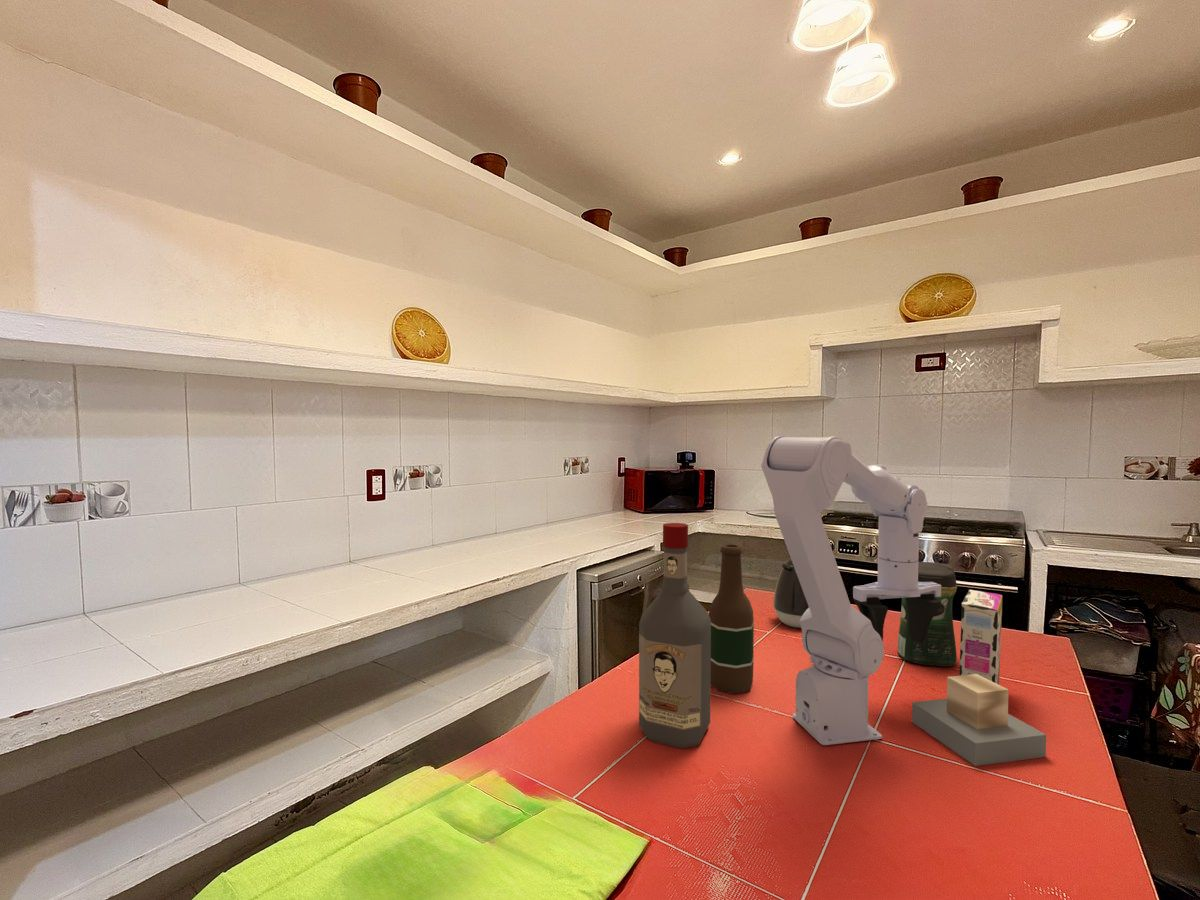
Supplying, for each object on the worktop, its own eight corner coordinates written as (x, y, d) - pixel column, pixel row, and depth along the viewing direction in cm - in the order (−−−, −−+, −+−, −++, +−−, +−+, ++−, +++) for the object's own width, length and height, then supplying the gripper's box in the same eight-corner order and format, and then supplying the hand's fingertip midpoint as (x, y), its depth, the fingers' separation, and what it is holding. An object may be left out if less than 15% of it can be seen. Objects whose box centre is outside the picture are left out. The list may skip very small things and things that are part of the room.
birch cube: (977, 729, 74) (977, 693, 74) (946, 711, 79) (947, 676, 79) (1007, 725, 75) (1008, 689, 75) (975, 707, 80) (976, 673, 80)
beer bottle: (723, 670, 99) (724, 539, 99) (762, 684, 94) (763, 545, 93) (698, 684, 94) (699, 545, 93) (738, 699, 88) (739, 552, 88)
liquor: (655, 708, 86) (656, 518, 85) (713, 721, 82) (714, 522, 81) (634, 738, 77) (634, 527, 76) (697, 754, 73) (698, 532, 72)
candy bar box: (996, 716, 83) (998, 610, 83) (957, 706, 86) (959, 603, 86) (1001, 689, 92) (1003, 593, 91) (965, 681, 95) (967, 587, 94)
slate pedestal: (974, 766, 71) (975, 743, 71) (911, 721, 82) (912, 702, 81) (1045, 756, 73) (1046, 734, 73) (974, 714, 84) (975, 695, 83)
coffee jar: (949, 654, 106) (950, 559, 106) (961, 671, 99) (963, 569, 98) (893, 647, 110) (894, 556, 109) (901, 663, 102) (902, 565, 102)
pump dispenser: (763, 622, 124) (763, 556, 124) (790, 613, 131) (791, 550, 130) (803, 635, 116) (804, 565, 116) (830, 625, 122) (831, 558, 122)
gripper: (874, 566, 82) (873, 655, 83) (957, 562, 85) (955, 648, 85) (845, 556, 89) (844, 638, 90) (922, 552, 92) (921, 632, 92)
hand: (896, 642), depth 88 cm, fingers open, 7 cm apart
